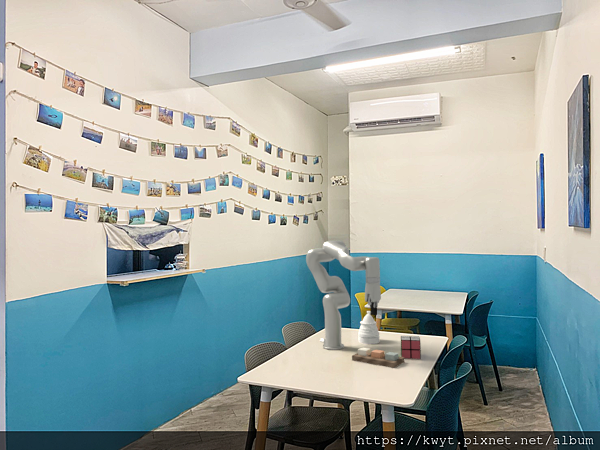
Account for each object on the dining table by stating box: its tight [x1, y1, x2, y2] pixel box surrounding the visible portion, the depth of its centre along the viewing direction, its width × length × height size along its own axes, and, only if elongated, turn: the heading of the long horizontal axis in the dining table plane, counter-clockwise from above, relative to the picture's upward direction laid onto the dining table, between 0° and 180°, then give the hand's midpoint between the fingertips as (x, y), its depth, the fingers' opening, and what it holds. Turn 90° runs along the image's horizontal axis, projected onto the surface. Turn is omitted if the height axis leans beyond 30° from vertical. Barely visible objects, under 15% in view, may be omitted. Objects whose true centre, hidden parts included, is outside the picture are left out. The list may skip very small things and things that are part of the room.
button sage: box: [384, 351, 400, 361], centre depth 232 cm, size 5×5×3 cm
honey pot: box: [357, 310, 380, 345], centre depth 280 cm, size 13×13×18 cm
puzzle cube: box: [400, 335, 422, 360], centre depth 245 cm, size 10×10×10 cm
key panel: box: [351, 352, 405, 369], centre depth 237 cm, size 24×12×2 cm, turn 52°
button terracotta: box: [371, 349, 385, 359], centre depth 237 cm, size 5×5×3 cm
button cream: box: [357, 347, 372, 356], centre depth 242 cm, size 5×5×3 cm
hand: (373, 314), depth 244 cm, fingers closed
